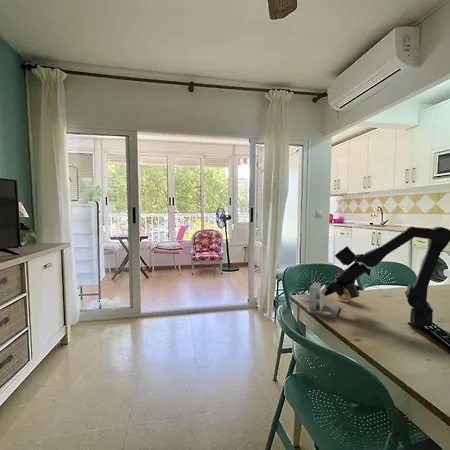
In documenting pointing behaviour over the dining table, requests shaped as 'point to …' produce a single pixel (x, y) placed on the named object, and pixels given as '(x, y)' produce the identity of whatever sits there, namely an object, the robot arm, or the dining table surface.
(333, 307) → the base
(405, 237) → the robot arm
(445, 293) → the dining table surface
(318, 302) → the anvil block
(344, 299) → the supplement bottle
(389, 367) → the dining table surface
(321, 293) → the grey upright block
